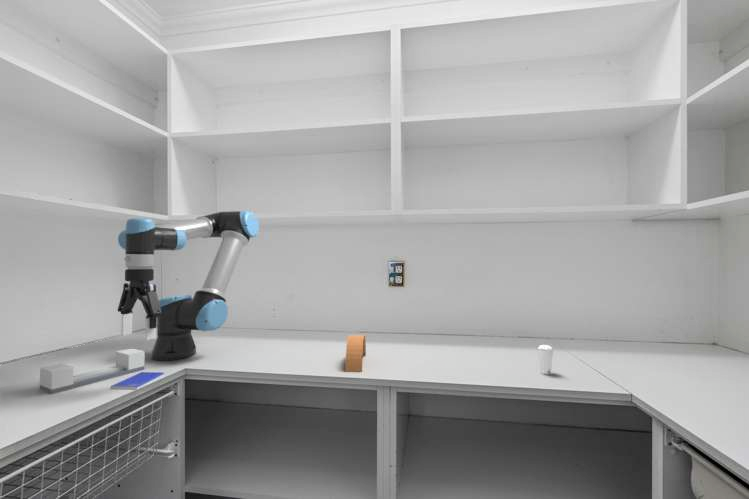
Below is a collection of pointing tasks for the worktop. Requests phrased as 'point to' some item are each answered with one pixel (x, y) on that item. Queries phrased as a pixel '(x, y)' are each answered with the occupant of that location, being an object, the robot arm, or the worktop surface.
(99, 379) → the rail board
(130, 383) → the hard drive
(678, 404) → the worktop surface
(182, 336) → the robot arm
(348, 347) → the arch
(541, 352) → the milkshake
